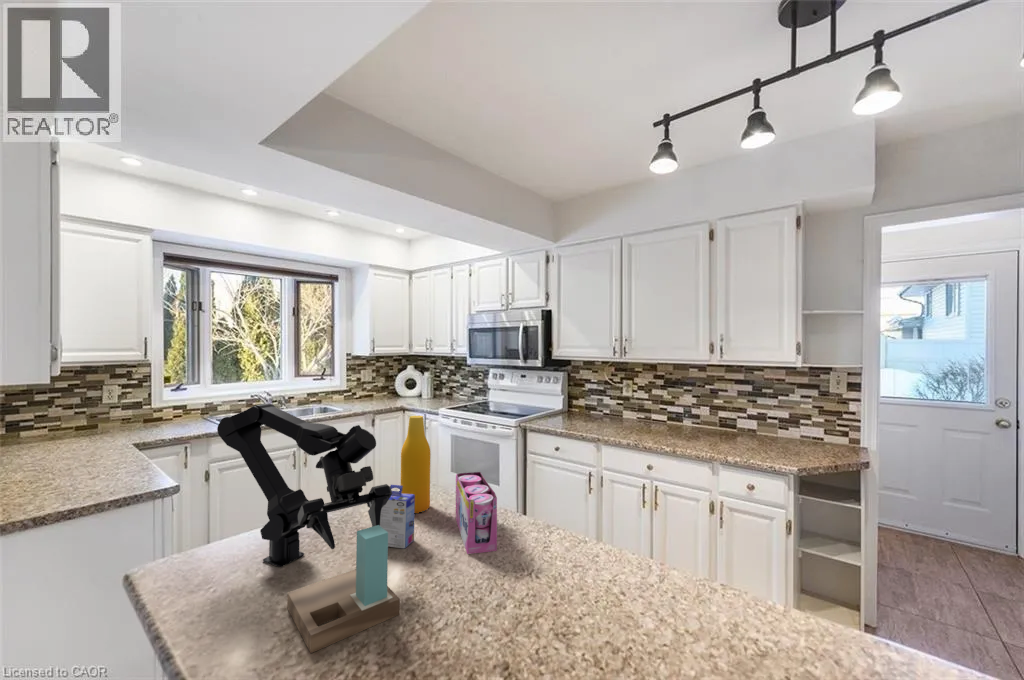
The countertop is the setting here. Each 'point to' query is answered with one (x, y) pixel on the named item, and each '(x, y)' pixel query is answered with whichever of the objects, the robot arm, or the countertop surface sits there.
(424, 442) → the beer bottle
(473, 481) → the gum box
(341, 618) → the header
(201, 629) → the countertop surface
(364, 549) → the plug
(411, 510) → the ink cartridge box
